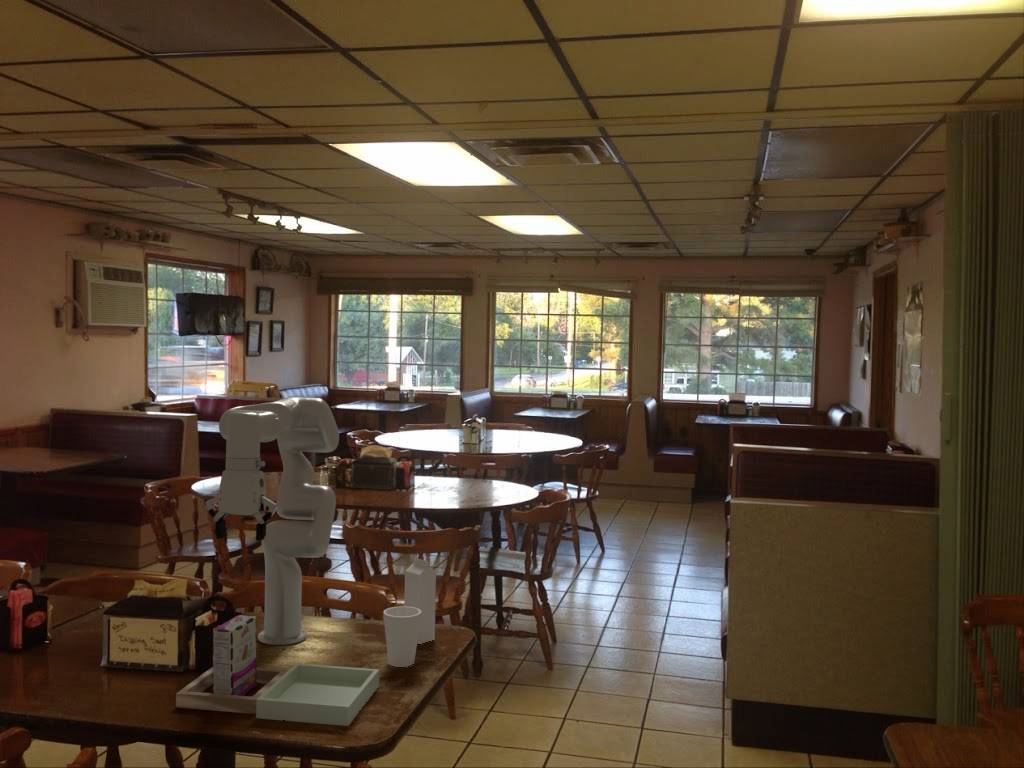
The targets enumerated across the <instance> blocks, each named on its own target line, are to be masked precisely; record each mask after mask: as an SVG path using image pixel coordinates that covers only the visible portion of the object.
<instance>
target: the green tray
mask: <svg viewBox="0 0 1024 768" xmlns="http://www.w3.org/2000/svg"><path fill="white" fill-rule="evenodd" d="M288 670H289V671H287V672H286V673H285V674H284V675H283V676H282V677H281V678H280V679H279V680H277V681H276V682H275V683H274V684H273V685H272V686H271V687H270V688H269V689H267V690H266V691H265V692H264V693H263V694H262V695H261V696H260V697H258V698H257V699H256V714H255V718H256V719H262V720H273V721H274V720H275V721H283V720H285V721H286V722H295V723H309V724H319V725H321V724H322V725H332V726H343V727H349V726H350V725H351V724H352V723H353V721H354V719H356V717H357V715H358V714H359V713H360V712H361V710H362V709H363V708H364V707H363V706H365V705H366V704H367V703H368V702H369V700H370V699H371V698H372V696H373V695H374V694H375V693H376V692H377V690H378V689H379V687H380V669H377V668H376V669H375V668H365V667H364V668H363V667H362V668H361V667H351V666H350V667H349V666H336V665H334V666H333V665H325V664H322V665H321V664H311V663H308V664H307V663H295V664H294V665H293V666H292V667H291V668H290V669H288ZM377 688H378V689H377ZM374 692H375V693H374ZM373 693H374V694H373ZM370 697H371V698H370ZM366 702H367V703H366ZM362 707H363V708H362ZM359 711H360V712H359ZM285 721H284V722H285Z"/></svg>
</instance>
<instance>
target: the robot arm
mask: <svg viewBox="0 0 1024 768" xmlns="http://www.w3.org/2000/svg"><path fill="white" fill-rule="evenodd" d="M218 429H219V434H220V436H221V437H222V438H223V439H225V440H226V442H225V443H226V444H225V445H226V446H225V450H226V452H225V470H223V471H222V475H221V478H220V483H219V489H218V495H216V496H214V497H212V498H210V499H208V500H207V501H205V502H204V503H205V504H204V505H205V506H206V508H207V510H208V514H209V515H210V517H212V518H213V521H214V522H215V530H214V531H215V532H214V534H215V535H216V537H215V538H216V539H217V540H221V539H223V538H225V537H226V534H227V533H226V531H227V530H226V529H227V528H226V527H227V520H226V519H225V517H227V516H228V515H239V516H240V515H241V516H253V517H254V518H255V519H256V520H257V522H258V523H257V524H256V527H255V529H256V530H255V541H256V542H262V548H263V549H262V550H263V554H264V567H265V569H264V572H265V573H264V577H265V578H264V618H263V619H264V622H263V623H264V625H263V628H264V629H263V630H262V631H260V632H259V633H258V636H257V640H258V641H259V642H261V643H262V644H265V645H270V646H271V645H272V646H284V645H285V646H286V645H293V644H297V643H300V642H303V641H304V640H305V639H306V638H307V637H308V636H307V635H308V634H307V633H308V632H307V631H306V630H305V629H303V628H302V621H303V620H304V616H303V614H302V589H303V588H302V586H303V584H302V582H303V574H302V573H303V572H302V570H301V569H302V568H301V566H300V564H299V563H298V561H297V560H296V558H307V559H308V558H309V559H310V558H311V559H313V558H315V559H316V558H317V559H318V558H321V557H323V556H325V554H326V553H327V551H328V548H329V546H330V545H329V543H330V538H331V533H332V529H333V523H334V519H335V513H336V507H337V504H336V503H337V501H336V500H337V498H336V494H335V491H334V490H333V488H331V487H329V486H327V485H323V484H322V485H320V484H318V485H317V484H313V483H314V479H315V469H314V467H313V465H312V464H311V462H310V461H309V459H308V458H307V457H306V456H305V455H304V453H326V454H327V453H331V452H334V451H335V450H336V449H337V448H338V445H339V441H340V432H339V427H338V425H337V423H336V420H335V417H334V414H333V411H332V410H331V408H330V406H329V404H328V403H327V402H326V401H325V400H324V399H323V398H320V397H302V396H301V397H297V396H294V397H293V396H291V397H285V398H280V399H279V400H275V401H271V402H263V403H259V404H258V403H257V404H249V405H242V406H235V407H232V408H229V409H227V410H226V411H224V412H223V414H222V415H221V417H220V419H219V423H218ZM275 440H277V441H276V442H277V446H278V451H279V455H280V458H281V461H282V468H283V469H282V470H283V471H282V475H281V479H280V485H279V488H278V494H277V498H276V502H274V501H272V500H271V499H269V498H268V497H267V493H266V492H267V491H266V481H265V474H264V471H262V470H260V469H261V468H263V467H265V466H266V462H265V461H264V460H262V459H261V443H269V442H273V441H275ZM215 504H217V509H216V507H215ZM267 507H268V511H267V512H266V513H265V511H266V510H267V509H266V508H267ZM275 513H277V515H278V516H279V517H281V518H283V519H284V520H283V519H280V520H273V521H271V522H269V520H270V519H272V517H274V515H275ZM285 519H286V520H285ZM299 520H300V521H299ZM268 522H269V523H268Z"/></svg>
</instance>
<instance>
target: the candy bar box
mask: <svg viewBox="0 0 1024 768" xmlns="http://www.w3.org/2000/svg"><path fill="white" fill-rule="evenodd" d="M212 632H213V633H212V640H213V641H212V643H213V644H212V645H213V647H212V659H213V665H212V667H213V685H212V689H213V690H212V691H213V694H225V695H237V696H246V695H247V694H249V692H251V691H252V690H253V689H255V688H256V687H257V683H256V668H257V616H256V615H247V614H246V615H244V614H238V615H236V616H234V617H233V618H231V619H229V620H228V621H226V622H224V623H222V624H220V625H219V626H217V627H215V628H213V630H212Z"/></svg>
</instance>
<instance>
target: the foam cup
mask: <svg viewBox="0 0 1024 768" xmlns="http://www.w3.org/2000/svg"><path fill="white" fill-rule="evenodd" d="M382 617H383V618H382V619H383V625H384V633H385V644H386V652H387V662H388V665H389V664H390V665H392V666H395V667H406V666H407V667H406V668H409V667H408V666H410V665H412V664H414V665H415V659H416V652H417V646H418V645H417V641H418V634H419V627H420V623H421V610H420V609H418V608H414V607H407V606H404V605H401V606H393V607H392V606H391V607H388V608H386V609H384V610H383V616H382ZM390 665H389V666H390ZM392 666H391V667H392ZM412 666H413V665H412ZM395 667H394V668H395ZM410 667H411V666H410Z"/></svg>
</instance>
